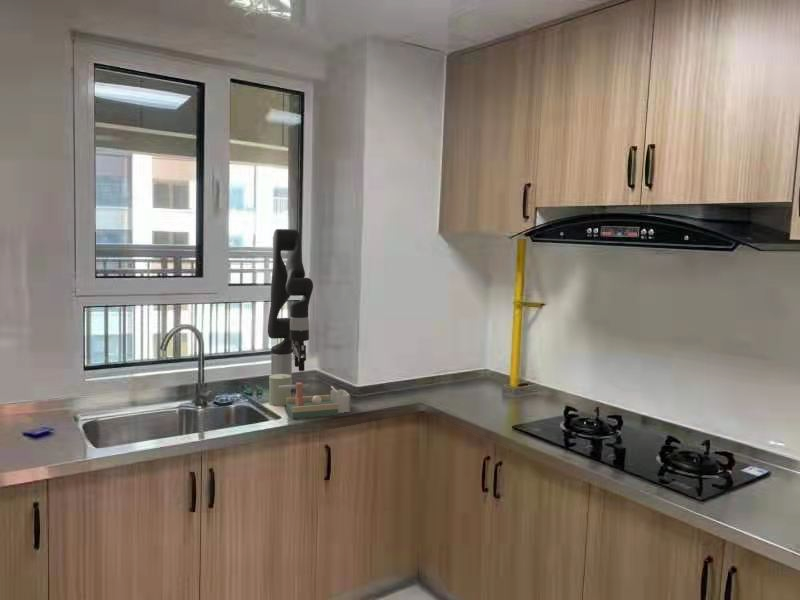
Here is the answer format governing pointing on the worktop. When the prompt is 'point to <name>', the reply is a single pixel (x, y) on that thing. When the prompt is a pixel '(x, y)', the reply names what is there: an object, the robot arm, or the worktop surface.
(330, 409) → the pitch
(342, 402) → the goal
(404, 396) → the worktop surface
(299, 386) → the kicker
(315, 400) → the ball
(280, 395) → the can
